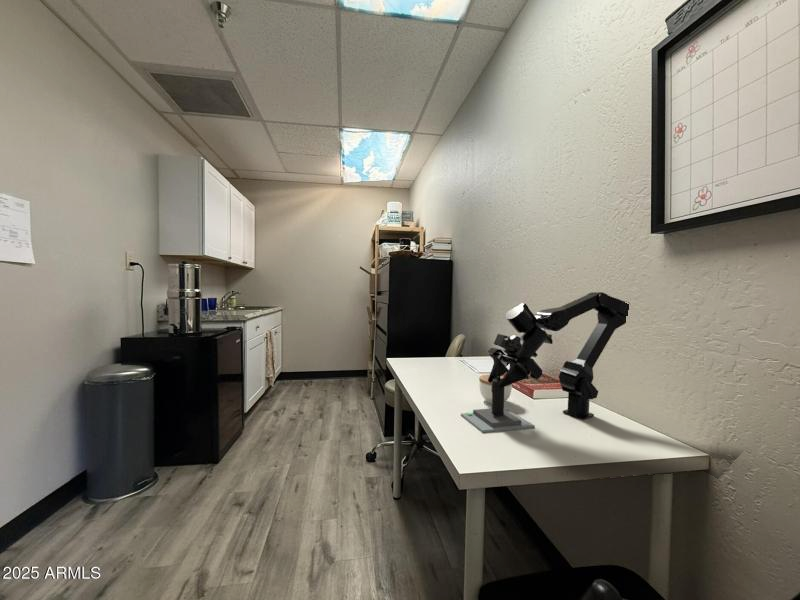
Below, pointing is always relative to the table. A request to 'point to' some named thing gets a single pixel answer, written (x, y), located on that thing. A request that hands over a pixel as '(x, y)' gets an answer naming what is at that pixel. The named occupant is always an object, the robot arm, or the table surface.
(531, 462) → the table surface
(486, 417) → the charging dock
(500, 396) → the walkie-talkie
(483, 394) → the lidded jar
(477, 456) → the table surface
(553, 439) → the table surface
